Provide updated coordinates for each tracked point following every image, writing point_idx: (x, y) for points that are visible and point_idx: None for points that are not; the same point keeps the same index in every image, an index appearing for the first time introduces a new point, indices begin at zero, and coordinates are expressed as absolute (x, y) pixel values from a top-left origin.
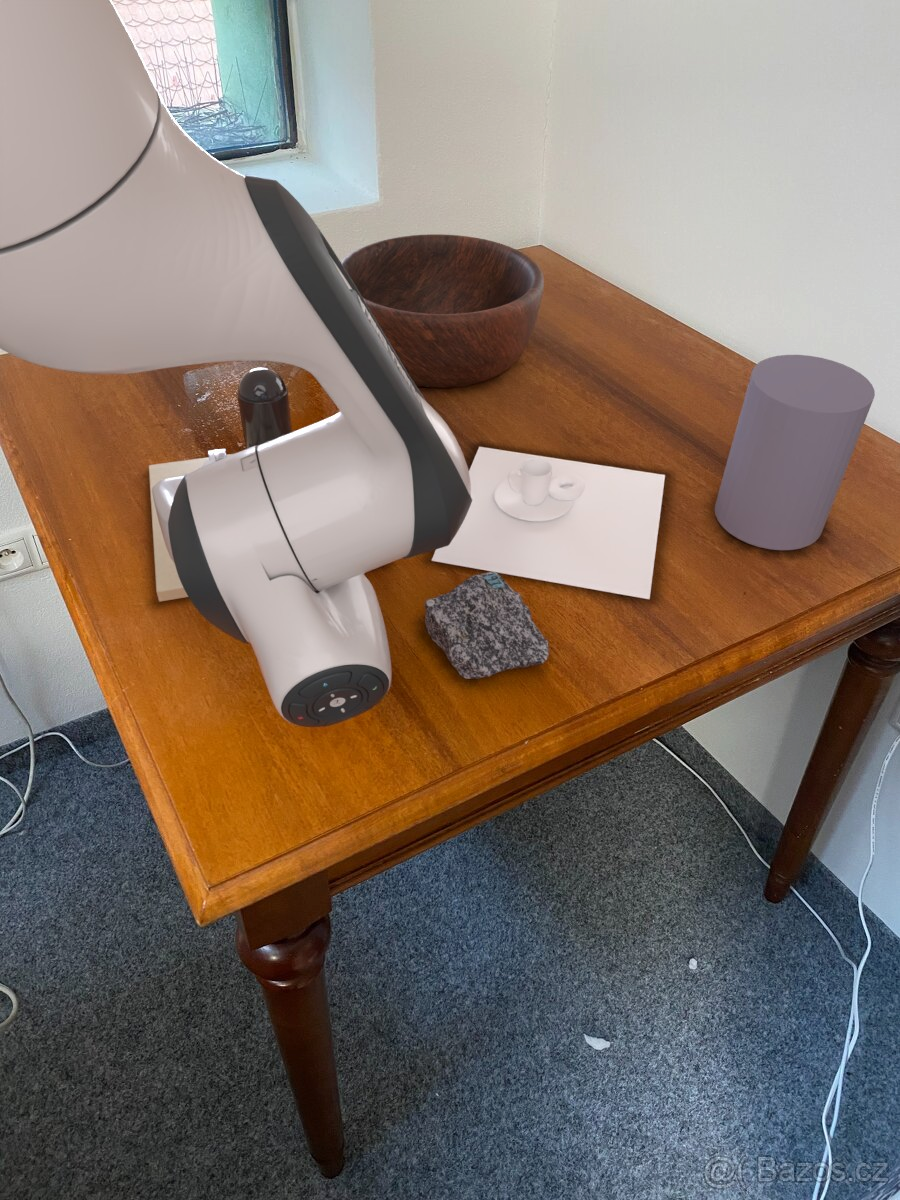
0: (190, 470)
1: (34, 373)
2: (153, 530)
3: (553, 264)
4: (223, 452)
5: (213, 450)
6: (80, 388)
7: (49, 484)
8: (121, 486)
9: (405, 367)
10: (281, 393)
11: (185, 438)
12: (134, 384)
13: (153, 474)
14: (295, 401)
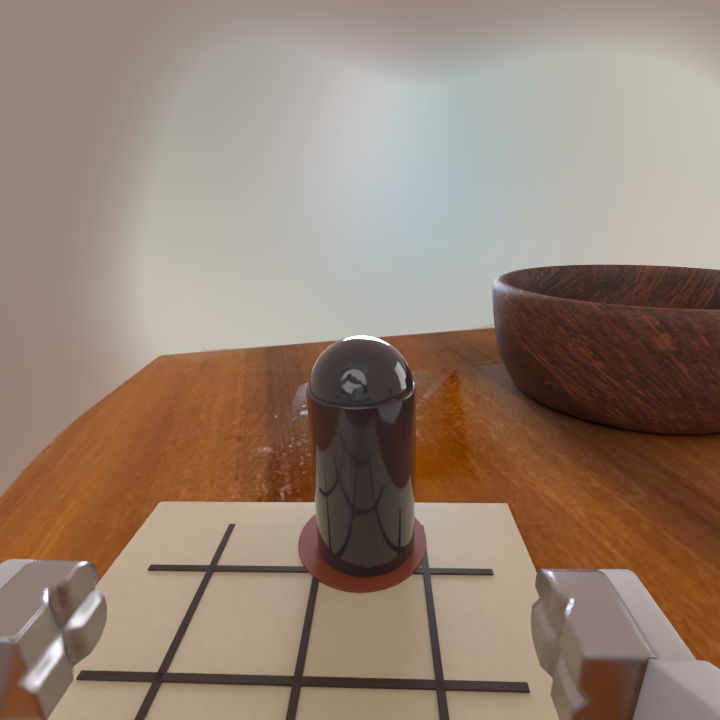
0: (214, 525)
1: (161, 371)
2: None
3: None
4: (45, 589)
5: (24, 564)
6: (187, 387)
7: (15, 508)
8: (102, 533)
9: (602, 395)
10: (400, 391)
11: (255, 461)
12: (243, 389)
13: (150, 522)
14: (425, 428)
